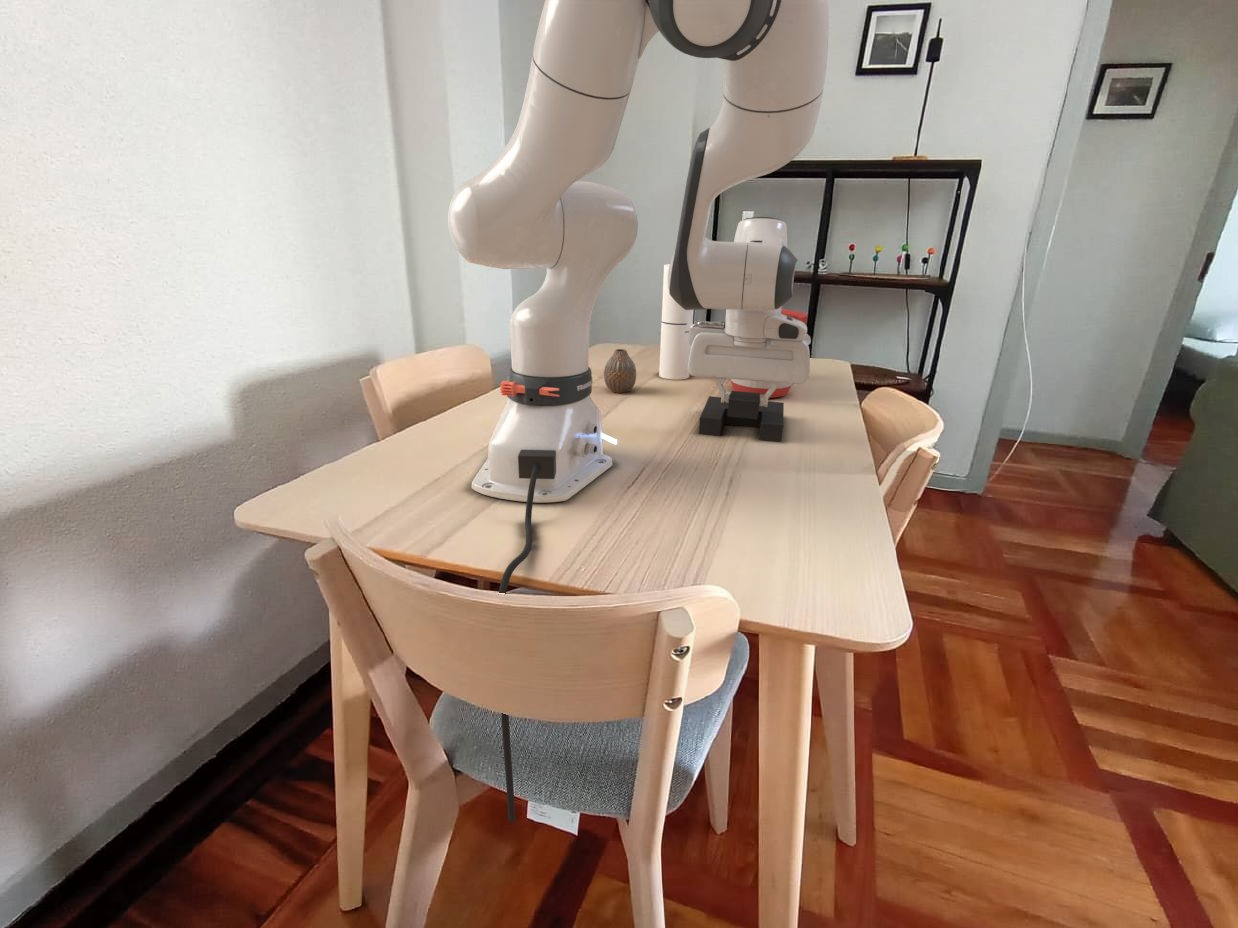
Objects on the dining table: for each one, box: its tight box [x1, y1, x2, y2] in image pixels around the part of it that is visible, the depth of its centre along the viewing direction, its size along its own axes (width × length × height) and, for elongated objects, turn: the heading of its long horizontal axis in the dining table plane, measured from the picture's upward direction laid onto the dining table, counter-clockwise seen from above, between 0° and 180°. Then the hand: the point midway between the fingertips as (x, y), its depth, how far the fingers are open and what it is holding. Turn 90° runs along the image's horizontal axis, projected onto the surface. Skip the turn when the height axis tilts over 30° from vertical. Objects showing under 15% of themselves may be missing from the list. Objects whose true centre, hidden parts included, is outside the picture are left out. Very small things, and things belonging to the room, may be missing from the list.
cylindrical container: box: [658, 263, 695, 381], centre depth 140 cm, size 7×7×25 cm
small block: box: [727, 390, 760, 419], centre depth 106 cm, size 6×5×3 cm
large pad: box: [698, 395, 785, 443], centre depth 110 cm, size 14×14×3 cm
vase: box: [603, 348, 637, 394], centre depth 129 cm, size 7×7×9 cm
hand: (744, 404), depth 105 cm, fingers closed on small block, 5 cm apart
